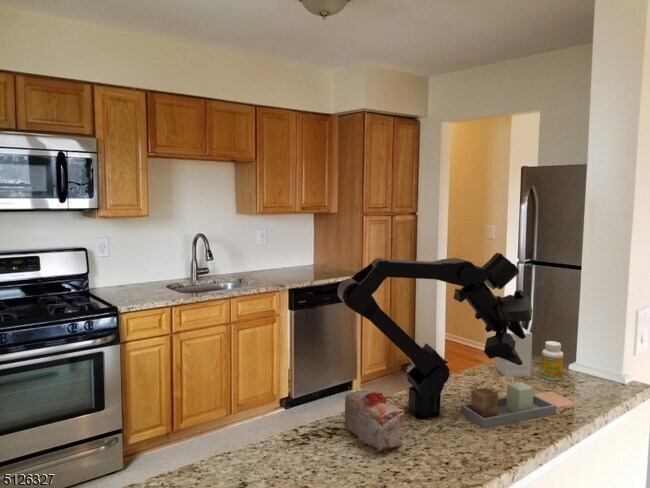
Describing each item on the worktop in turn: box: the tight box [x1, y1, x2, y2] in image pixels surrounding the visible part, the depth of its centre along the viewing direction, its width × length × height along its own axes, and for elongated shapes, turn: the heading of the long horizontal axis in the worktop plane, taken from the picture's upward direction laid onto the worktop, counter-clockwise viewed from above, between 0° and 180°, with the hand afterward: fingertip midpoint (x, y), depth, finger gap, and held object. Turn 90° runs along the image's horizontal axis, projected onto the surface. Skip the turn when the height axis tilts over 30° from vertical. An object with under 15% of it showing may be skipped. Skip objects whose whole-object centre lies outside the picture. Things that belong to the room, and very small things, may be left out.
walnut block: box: [470, 387, 499, 418], centre depth 113 cm, size 4×4×6 cm
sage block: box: [506, 381, 535, 413], centre depth 116 cm, size 4×4×6 cm
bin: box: [460, 393, 557, 429], centre depth 115 cm, size 20×8×2 cm, turn 111°
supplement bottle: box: [540, 340, 564, 381], centre depth 139 cm, size 5×5×10 cm
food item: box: [344, 389, 405, 452], centre depth 104 cm, size 14×8×10 cm, turn 35°
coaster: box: [533, 391, 578, 409], centre depth 123 cm, size 8×8×1 cm
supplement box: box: [496, 326, 533, 377], centre depth 142 cm, size 7×7×13 cm
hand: (522, 350), depth 119 cm, fingers open, 9 cm apart
